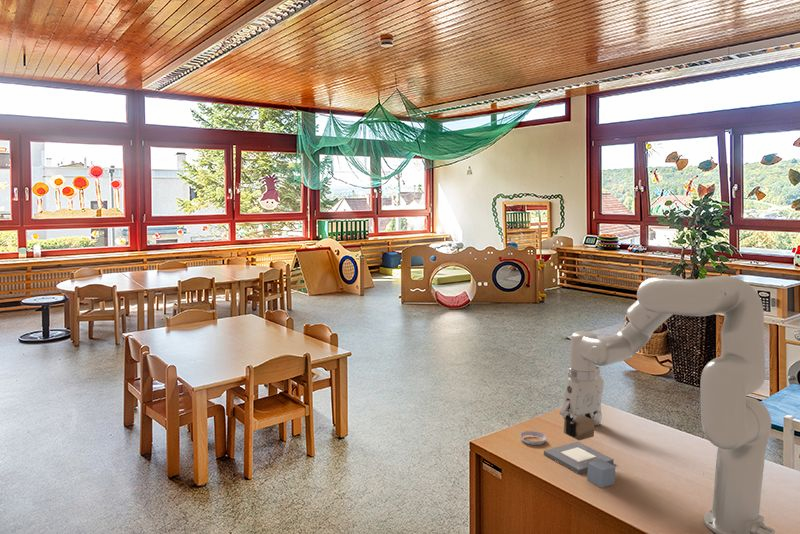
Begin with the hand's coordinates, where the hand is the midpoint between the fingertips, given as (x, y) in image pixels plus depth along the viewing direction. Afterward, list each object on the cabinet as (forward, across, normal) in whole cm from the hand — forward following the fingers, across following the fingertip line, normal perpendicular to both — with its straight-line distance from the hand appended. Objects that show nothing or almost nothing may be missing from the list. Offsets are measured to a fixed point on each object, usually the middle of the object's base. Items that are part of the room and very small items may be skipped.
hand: (578, 432), depth 173 cm
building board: (+8, 0, 0) cm, 8 cm away
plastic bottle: (+8, +24, +17) cm, 30 cm away
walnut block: (+1, 0, 0) cm, 1 cm away
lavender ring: (+9, -3, +16) cm, 18 cm away
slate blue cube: (+8, -5, -13) cm, 16 cm away
